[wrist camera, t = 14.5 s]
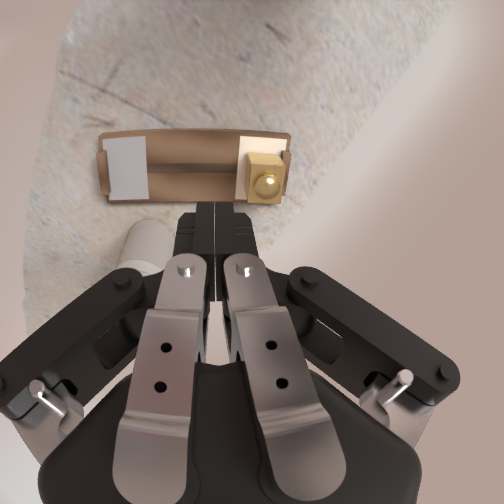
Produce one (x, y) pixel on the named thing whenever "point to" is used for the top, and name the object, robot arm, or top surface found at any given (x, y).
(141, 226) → the can
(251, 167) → the brass knob
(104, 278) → the robot arm
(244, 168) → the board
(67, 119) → the top surface
